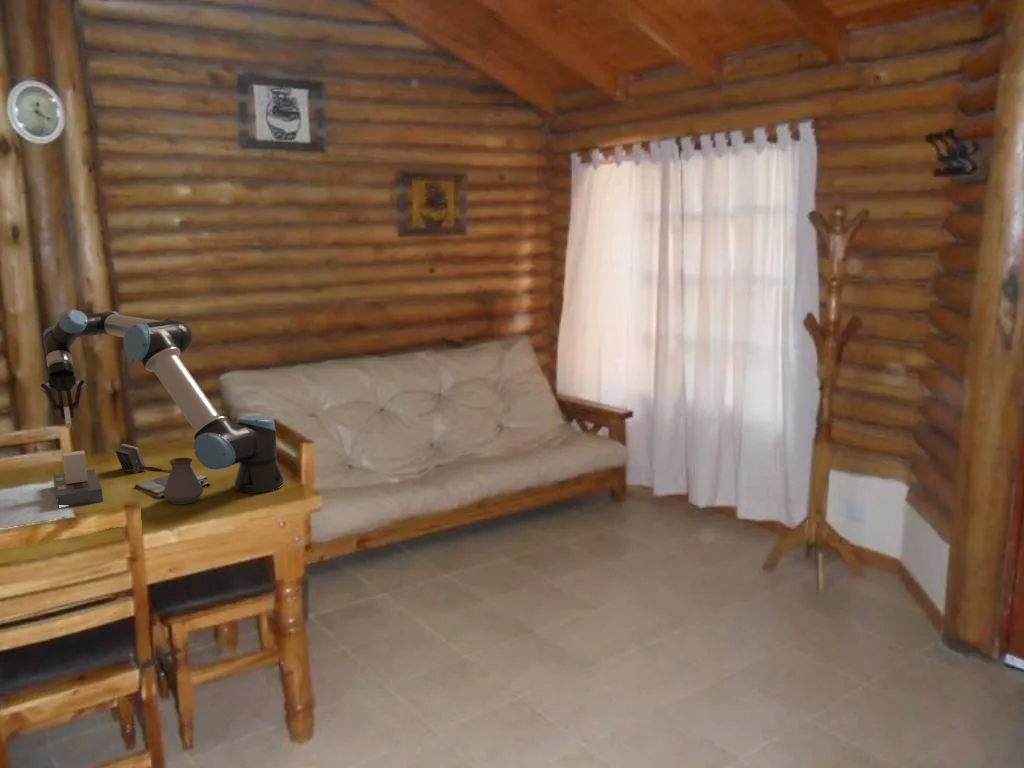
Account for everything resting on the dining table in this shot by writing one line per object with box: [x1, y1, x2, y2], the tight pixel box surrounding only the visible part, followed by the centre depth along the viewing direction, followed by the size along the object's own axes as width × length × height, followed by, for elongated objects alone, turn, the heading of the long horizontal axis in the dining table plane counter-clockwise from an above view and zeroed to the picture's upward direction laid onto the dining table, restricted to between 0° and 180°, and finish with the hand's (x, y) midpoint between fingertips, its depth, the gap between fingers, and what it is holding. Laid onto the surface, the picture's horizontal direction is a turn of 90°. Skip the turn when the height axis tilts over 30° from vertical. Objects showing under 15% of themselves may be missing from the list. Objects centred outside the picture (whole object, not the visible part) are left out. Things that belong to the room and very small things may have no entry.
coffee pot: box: [132, 457, 204, 505], centre depth 246 cm, size 21×12×15 cm, turn 149°
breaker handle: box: [62, 450, 88, 484], centre depth 255 cm, size 4×6×9 cm, turn 122°
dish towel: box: [134, 473, 212, 500], centre depth 264 cm, size 19×18×3 cm
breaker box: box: [52, 468, 104, 507], centre depth 257 cm, size 24×12×4 cm, turn 32°
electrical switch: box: [115, 443, 147, 474], centre depth 280 cm, size 9×5×9 cm, turn 57°
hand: (68, 425), depth 263 cm, fingers closed
